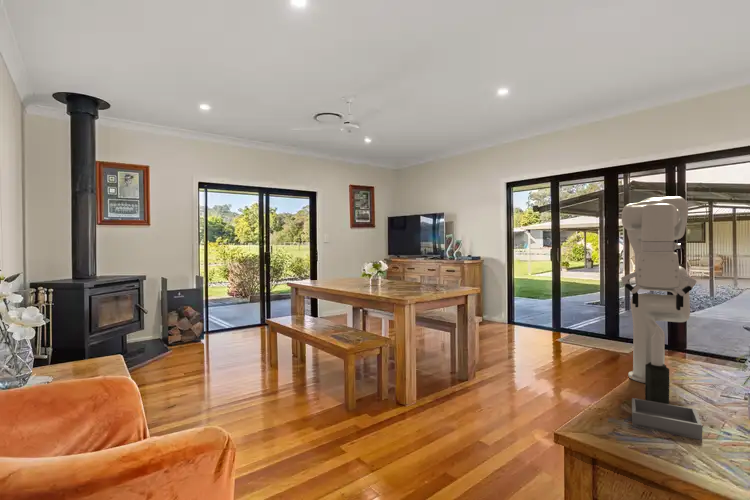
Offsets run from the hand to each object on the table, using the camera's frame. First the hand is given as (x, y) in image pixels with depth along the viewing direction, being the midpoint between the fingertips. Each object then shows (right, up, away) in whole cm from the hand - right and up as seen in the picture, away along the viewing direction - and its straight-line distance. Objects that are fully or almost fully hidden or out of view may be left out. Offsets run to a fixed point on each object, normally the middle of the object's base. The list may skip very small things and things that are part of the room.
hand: (656, 308), depth 112 cm
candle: (+6, -32, +9) cm, 34 cm away
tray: (+1, -32, -2) cm, 32 cm away
